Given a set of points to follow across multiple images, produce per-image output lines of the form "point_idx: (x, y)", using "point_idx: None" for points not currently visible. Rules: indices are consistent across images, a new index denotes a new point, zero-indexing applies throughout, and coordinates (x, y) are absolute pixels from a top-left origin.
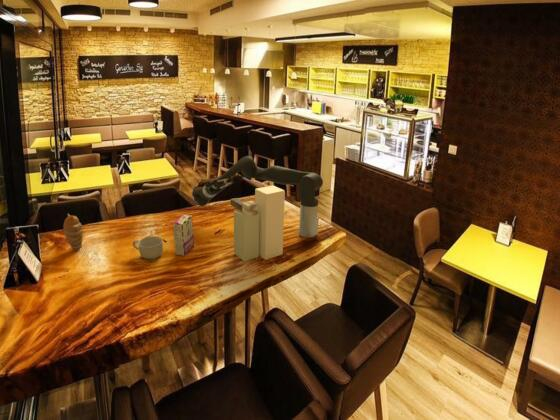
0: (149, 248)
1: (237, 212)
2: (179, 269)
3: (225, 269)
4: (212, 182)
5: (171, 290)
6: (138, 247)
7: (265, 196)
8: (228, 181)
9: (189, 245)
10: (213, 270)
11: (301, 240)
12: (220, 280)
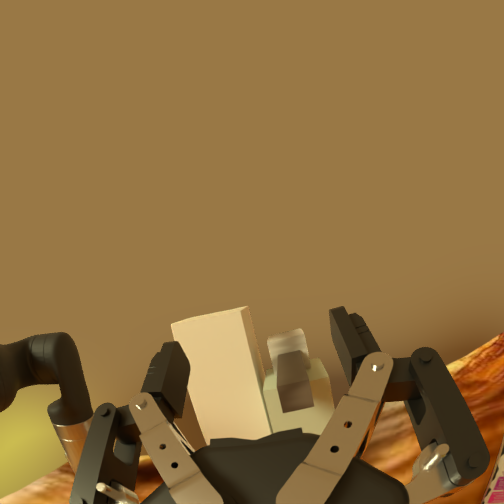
0: None
1: (323, 369)
2: (490, 425)
3: (390, 440)
4: (374, 347)
5: (483, 384)
6: None
7: (249, 313)
8: (168, 419)
9: (487, 486)
10: None
11: (145, 483)
12: (406, 415)
